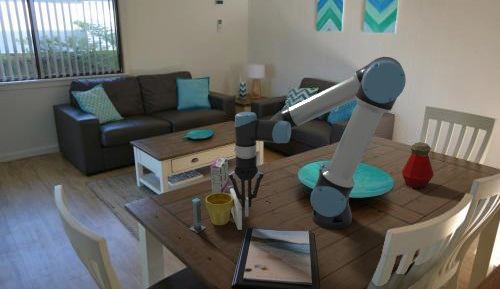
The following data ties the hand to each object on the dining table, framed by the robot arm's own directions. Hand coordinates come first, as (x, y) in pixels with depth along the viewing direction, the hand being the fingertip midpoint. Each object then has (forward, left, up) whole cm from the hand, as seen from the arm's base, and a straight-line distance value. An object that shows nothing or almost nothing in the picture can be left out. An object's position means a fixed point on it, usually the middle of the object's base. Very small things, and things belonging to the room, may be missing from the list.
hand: (246, 214), depth 145 cm
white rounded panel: (+6, 0, -3) cm, 6 cm away
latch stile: (+12, +14, -4) cm, 19 cm away
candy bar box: (+24, -11, -4) cm, 26 cm away
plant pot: (+9, +5, -4) cm, 11 cm away
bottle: (-38, -78, -4) cm, 87 cm away
